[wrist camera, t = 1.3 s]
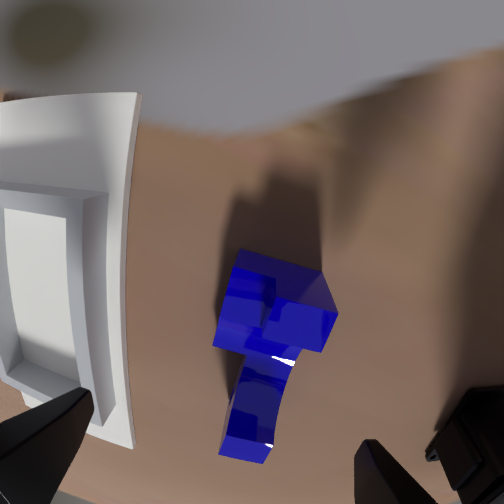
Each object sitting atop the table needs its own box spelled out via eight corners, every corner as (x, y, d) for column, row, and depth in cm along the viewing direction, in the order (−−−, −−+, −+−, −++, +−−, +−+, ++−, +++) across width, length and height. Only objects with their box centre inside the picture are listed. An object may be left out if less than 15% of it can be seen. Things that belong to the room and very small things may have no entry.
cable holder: (240, 247, 13) (226, 282, 9) (321, 270, 13) (338, 313, 9) (201, 389, 15) (184, 445, 12) (266, 406, 16) (262, 463, 12)
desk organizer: (142, 94, 11) (114, 82, 9) (136, 443, 17) (123, 471, 15) (3, 103, 12) (-30, 101, 9) (29, 400, 17) (12, 420, 15)
